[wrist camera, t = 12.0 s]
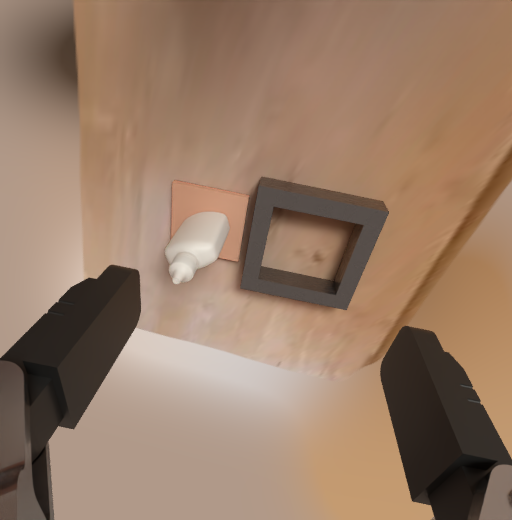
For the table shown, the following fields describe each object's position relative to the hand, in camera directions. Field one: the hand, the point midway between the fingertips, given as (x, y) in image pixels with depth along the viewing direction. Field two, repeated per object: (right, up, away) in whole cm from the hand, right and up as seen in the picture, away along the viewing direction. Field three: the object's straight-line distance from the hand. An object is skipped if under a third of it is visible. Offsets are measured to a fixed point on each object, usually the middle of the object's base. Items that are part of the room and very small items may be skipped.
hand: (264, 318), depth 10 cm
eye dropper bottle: (-6, +6, +30) cm, 31 cm away
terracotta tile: (-6, +7, +30) cm, 31 cm away
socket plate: (+6, +4, +30) cm, 31 cm away
